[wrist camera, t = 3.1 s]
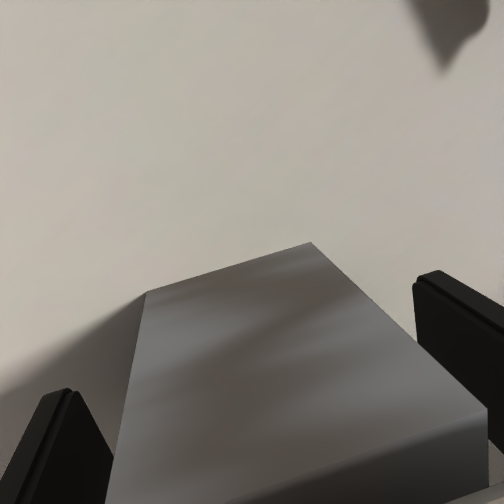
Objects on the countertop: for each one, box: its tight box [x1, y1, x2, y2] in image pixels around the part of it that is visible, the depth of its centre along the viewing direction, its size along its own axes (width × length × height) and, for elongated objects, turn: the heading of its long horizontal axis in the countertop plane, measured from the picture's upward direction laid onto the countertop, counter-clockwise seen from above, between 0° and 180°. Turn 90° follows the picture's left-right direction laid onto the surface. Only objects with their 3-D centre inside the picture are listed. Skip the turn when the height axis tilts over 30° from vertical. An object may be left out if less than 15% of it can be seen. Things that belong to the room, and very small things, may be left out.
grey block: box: [105, 242, 489, 504], centre depth 9 cm, size 5×5×7 cm
